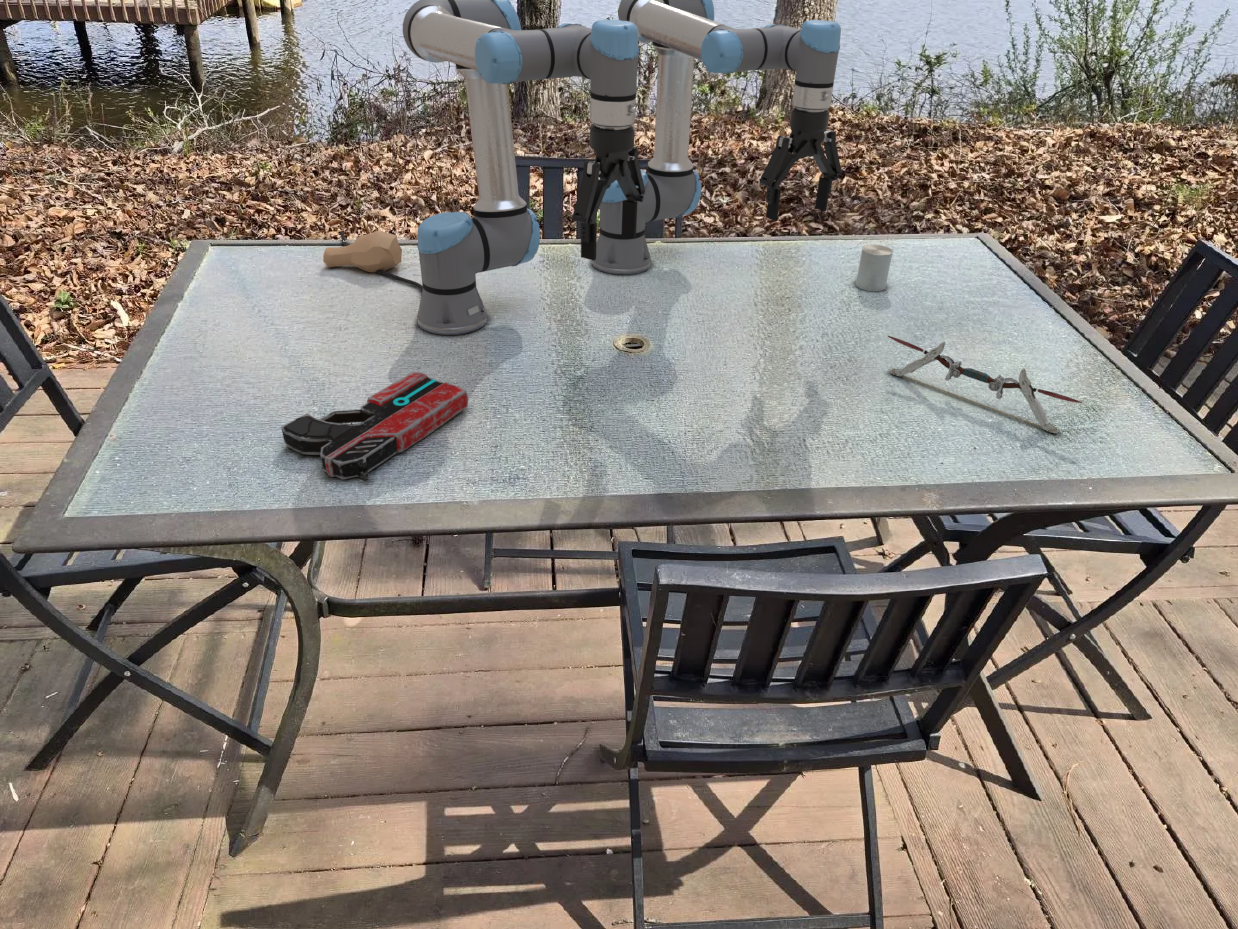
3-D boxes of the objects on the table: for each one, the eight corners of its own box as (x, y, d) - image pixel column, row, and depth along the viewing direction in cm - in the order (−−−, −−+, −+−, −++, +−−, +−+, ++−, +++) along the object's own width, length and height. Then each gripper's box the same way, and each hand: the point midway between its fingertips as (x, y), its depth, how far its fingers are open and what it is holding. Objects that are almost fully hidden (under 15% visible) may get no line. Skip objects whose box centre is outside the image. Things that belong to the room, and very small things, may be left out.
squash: (402, 276, 219) (391, 244, 212) (324, 283, 220) (312, 251, 214) (409, 253, 226) (400, 222, 220) (335, 261, 228) (323, 229, 222)
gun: (267, 431, 148) (351, 468, 140) (394, 358, 170) (473, 387, 162) (272, 453, 151) (354, 490, 143) (397, 379, 173) (474, 408, 165)
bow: (1071, 436, 162) (1088, 388, 156) (1067, 439, 161) (1085, 392, 155) (883, 367, 183) (892, 323, 178) (878, 369, 182) (888, 325, 177)
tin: (884, 293, 217) (892, 256, 212) (854, 289, 219) (861, 252, 214) (885, 282, 223) (893, 246, 218) (856, 278, 225) (863, 243, 219)
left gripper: (590, 143, 136) (588, 273, 148) (668, 114, 154) (661, 232, 166) (550, 135, 139) (552, 263, 151) (631, 107, 157) (627, 223, 169)
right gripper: (774, 117, 166) (761, 227, 177) (870, 105, 177) (852, 210, 189) (749, 110, 171) (738, 217, 183) (843, 98, 182) (828, 201, 194)
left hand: (609, 247), depth 158 cm, fingers open, 13 cm apart
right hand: (796, 214), depth 186 cm, fingers open, 13 cm apart
